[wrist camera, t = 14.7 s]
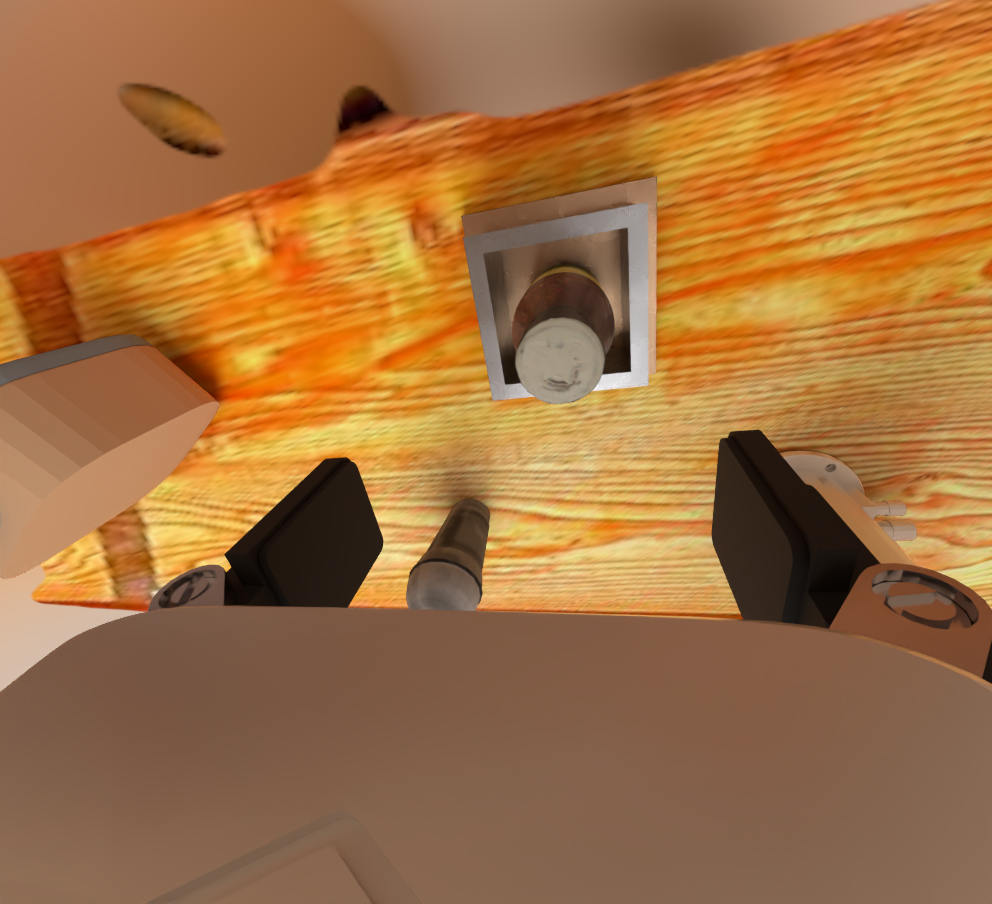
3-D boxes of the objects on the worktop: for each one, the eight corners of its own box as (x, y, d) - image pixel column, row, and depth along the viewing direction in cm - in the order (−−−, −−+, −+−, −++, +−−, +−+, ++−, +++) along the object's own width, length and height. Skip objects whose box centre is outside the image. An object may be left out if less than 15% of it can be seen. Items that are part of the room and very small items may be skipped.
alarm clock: (167, 318, 45) (-127, 391, 26) (242, 384, 47) (21, 494, 28) (106, 428, 54) (-144, 540, 35) (172, 479, 56) (-30, 609, 38)
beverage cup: (503, 493, 48) (460, 647, 31) (500, 542, 52) (460, 705, 34) (441, 485, 49) (366, 630, 32) (442, 533, 53) (375, 688, 35)
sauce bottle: (570, 351, 38) (563, 461, 21) (514, 309, 37) (458, 389, 20) (620, 287, 35) (660, 356, 18) (560, 240, 34) (541, 265, 17)
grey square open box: (654, 177, 32) (675, 166, 25) (654, 369, 39) (670, 403, 32) (464, 216, 35) (436, 215, 28) (494, 386, 42) (477, 419, 35)
